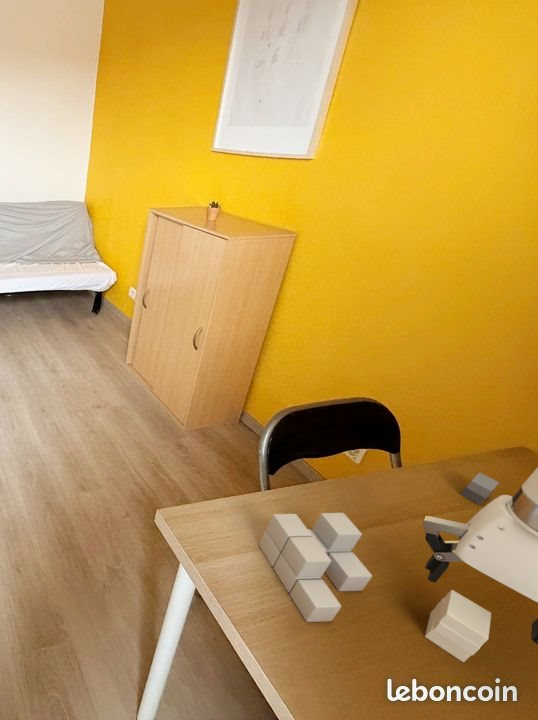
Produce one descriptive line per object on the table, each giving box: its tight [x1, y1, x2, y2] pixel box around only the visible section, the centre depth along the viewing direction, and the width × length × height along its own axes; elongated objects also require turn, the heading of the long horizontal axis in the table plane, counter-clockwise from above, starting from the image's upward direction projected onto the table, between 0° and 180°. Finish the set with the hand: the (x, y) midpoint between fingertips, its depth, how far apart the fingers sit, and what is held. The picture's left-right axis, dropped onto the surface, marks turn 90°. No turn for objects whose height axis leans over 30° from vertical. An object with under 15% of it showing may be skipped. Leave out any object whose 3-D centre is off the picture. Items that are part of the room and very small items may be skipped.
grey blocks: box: [460, 472, 500, 506], centre depth 80 cm, size 5×3×4 cm, turn 116°
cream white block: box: [439, 589, 492, 647], centre depth 57 cm, size 5×4×2 cm
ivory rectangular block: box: [424, 597, 482, 663], centre depth 58 cm, size 5×4×4 cm
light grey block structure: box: [258, 512, 373, 623], centre depth 64 cm, size 12×12×8 cm
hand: (480, 603), depth 55 cm, fingers open, 9 cm apart
